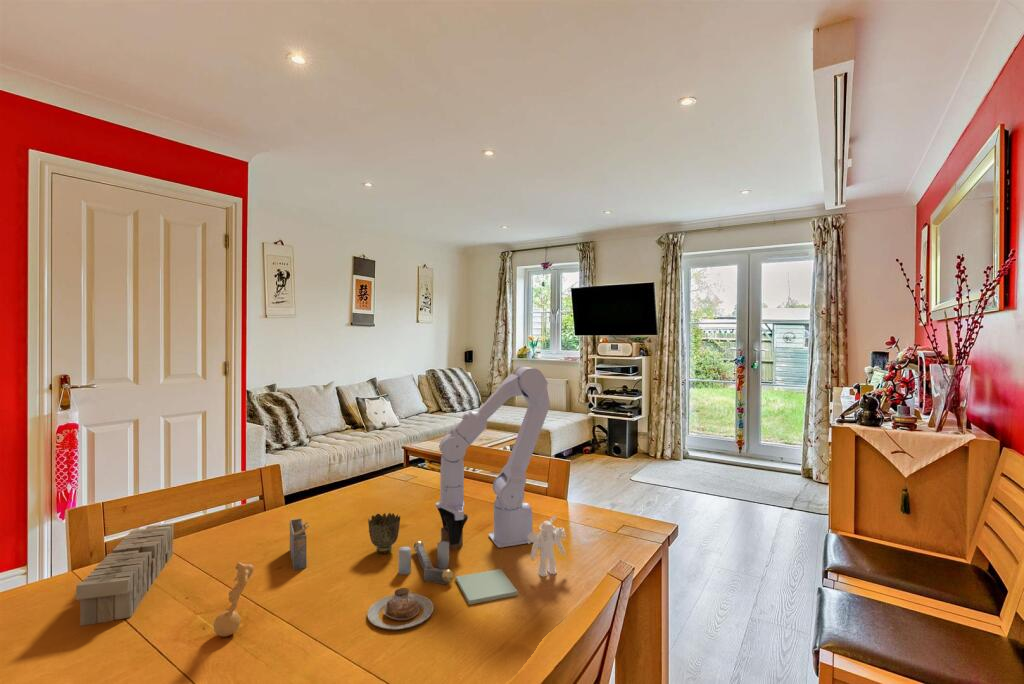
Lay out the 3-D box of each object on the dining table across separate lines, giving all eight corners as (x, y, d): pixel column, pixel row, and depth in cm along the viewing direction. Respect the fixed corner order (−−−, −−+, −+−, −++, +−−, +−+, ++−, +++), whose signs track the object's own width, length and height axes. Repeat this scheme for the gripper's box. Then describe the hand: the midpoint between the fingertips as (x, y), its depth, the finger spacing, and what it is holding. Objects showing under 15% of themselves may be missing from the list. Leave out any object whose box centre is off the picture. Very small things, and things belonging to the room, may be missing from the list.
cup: (391, 559, 113) (391, 525, 113) (362, 556, 115) (362, 522, 115) (405, 546, 121) (405, 513, 120) (377, 543, 122) (377, 511, 122)
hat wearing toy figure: (561, 565, 111) (561, 512, 111) (569, 573, 108) (570, 518, 107) (524, 572, 108) (524, 517, 108) (531, 580, 104) (532, 523, 104)
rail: (435, 548, 120) (435, 536, 119) (454, 584, 102) (454, 571, 102) (411, 551, 118) (411, 540, 117) (427, 589, 100) (427, 575, 100)
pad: (500, 572, 108) (500, 568, 108) (517, 595, 98) (517, 591, 98) (455, 580, 104) (455, 576, 104) (469, 604, 95) (469, 600, 95)
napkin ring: (459, 539, 125) (459, 523, 125) (464, 547, 120) (464, 531, 120) (439, 542, 123) (439, 526, 123) (444, 550, 118) (444, 534, 118)
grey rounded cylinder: (409, 568, 109) (409, 545, 109) (411, 573, 107) (411, 550, 107) (397, 570, 108) (397, 547, 108) (399, 575, 106) (399, 552, 106)
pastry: (401, 643, 83) (401, 616, 83) (353, 621, 90) (353, 596, 90) (446, 610, 94) (446, 586, 93) (400, 592, 100) (400, 569, 100)
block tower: (134, 564, 113) (73, 632, 85) (134, 527, 113) (73, 583, 86) (174, 559, 115) (128, 623, 88) (174, 522, 116) (128, 575, 88)
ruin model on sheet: (308, 569, 109) (308, 525, 109) (293, 572, 108) (293, 528, 108) (303, 549, 119) (303, 509, 119) (289, 552, 118) (289, 511, 118)
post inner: (447, 562, 112) (447, 540, 112) (450, 567, 110) (450, 545, 110) (436, 564, 111) (436, 542, 111) (438, 569, 109) (438, 546, 109)
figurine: (214, 625, 87) (214, 557, 87) (252, 616, 90) (252, 550, 90) (212, 651, 80) (212, 578, 80) (254, 640, 83) (254, 569, 83)
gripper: (429, 477, 127) (429, 530, 127) (442, 494, 113) (442, 553, 113) (456, 475, 129) (456, 526, 129) (472, 491, 116) (472, 549, 116)
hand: (451, 539), depth 122 cm, fingers closed on napkin ring, 5 cm apart
